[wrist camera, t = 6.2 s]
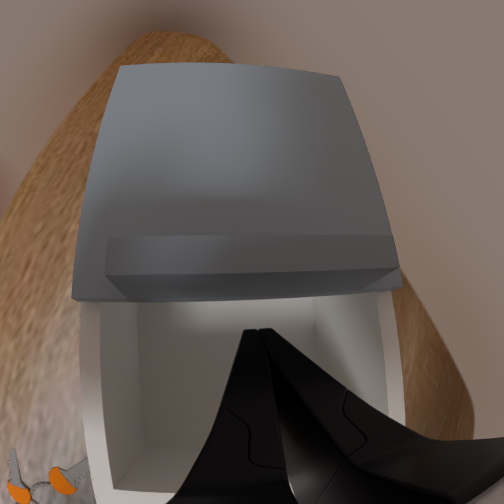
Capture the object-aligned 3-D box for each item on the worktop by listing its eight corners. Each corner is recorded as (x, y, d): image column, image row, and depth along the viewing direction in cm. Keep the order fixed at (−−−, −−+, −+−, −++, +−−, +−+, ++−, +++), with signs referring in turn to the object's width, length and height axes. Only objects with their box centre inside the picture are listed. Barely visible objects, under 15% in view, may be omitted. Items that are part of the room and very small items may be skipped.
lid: (394, 290, 12) (445, 264, 9) (77, 301, 10) (37, 274, 7) (336, 84, 16) (355, 42, 13) (121, 74, 14) (115, 26, 11)
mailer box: (332, 438, 17) (405, 467, 9) (135, 454, 15) (96, 504, 7) (314, 258, 21) (370, 199, 14) (129, 261, 19) (92, 196, 12)
